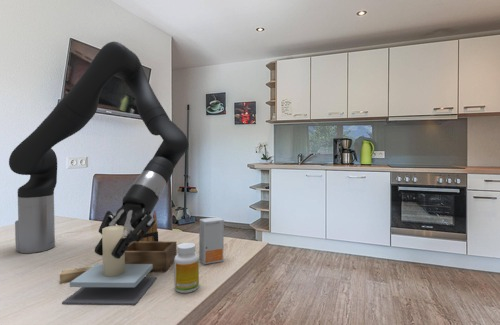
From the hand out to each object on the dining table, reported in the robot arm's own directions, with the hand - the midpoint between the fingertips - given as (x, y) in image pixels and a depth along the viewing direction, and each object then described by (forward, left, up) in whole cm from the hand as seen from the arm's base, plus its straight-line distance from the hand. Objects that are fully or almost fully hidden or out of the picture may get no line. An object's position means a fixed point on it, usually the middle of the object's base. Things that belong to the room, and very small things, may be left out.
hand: (106, 255), depth 60 cm
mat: (+1, +2, -8) cm, 9 cm away
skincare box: (+20, +19, -9) cm, 29 cm away
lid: (+1, +2, -6) cm, 6 cm away
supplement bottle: (+17, +3, -9) cm, 19 cm away
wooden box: (+3, +16, -8) cm, 18 cm away
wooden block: (-11, +7, -9) cm, 16 cm away
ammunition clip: (-4, +28, -9) cm, 30 cm away
